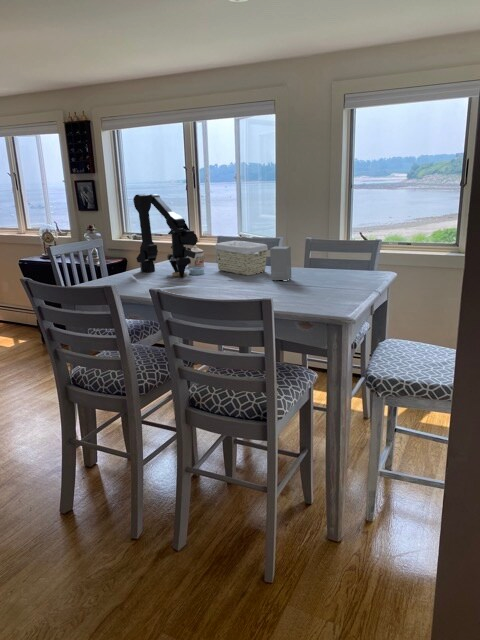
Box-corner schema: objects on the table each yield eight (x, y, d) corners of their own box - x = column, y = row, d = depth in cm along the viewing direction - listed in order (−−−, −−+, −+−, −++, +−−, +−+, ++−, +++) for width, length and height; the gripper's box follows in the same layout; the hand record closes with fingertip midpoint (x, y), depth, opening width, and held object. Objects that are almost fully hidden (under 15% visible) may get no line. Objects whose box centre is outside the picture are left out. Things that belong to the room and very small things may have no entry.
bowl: (192, 277, 233) (192, 270, 232) (187, 275, 240) (187, 268, 239) (206, 276, 236) (205, 269, 235) (201, 273, 242) (200, 266, 241)
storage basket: (269, 272, 244) (269, 243, 239) (247, 276, 233) (247, 247, 228) (236, 266, 260) (235, 240, 255) (214, 271, 249) (213, 243, 244)
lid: (174, 278, 226) (174, 274, 226) (170, 275, 233) (170, 272, 232) (188, 276, 229) (188, 273, 229) (184, 274, 235) (184, 271, 235)
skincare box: (291, 279, 225) (292, 246, 220) (286, 282, 218) (287, 248, 214) (275, 278, 228) (275, 245, 224) (269, 281, 222) (269, 247, 217)
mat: (173, 280, 225) (172, 278, 225) (166, 277, 234) (166, 275, 233) (192, 278, 229) (192, 276, 229) (186, 275, 238) (186, 273, 237)
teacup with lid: (196, 269, 254) (195, 247, 251) (184, 267, 260) (183, 246, 256) (211, 265, 263) (210, 245, 260) (199, 264, 269) (198, 243, 265)
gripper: (200, 245, 222) (201, 277, 226) (187, 241, 238) (188, 271, 242) (177, 246, 217) (179, 280, 222) (166, 242, 233) (168, 273, 238)
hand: (179, 276), depth 231 cm, fingers closed on lid, 7 cm apart
